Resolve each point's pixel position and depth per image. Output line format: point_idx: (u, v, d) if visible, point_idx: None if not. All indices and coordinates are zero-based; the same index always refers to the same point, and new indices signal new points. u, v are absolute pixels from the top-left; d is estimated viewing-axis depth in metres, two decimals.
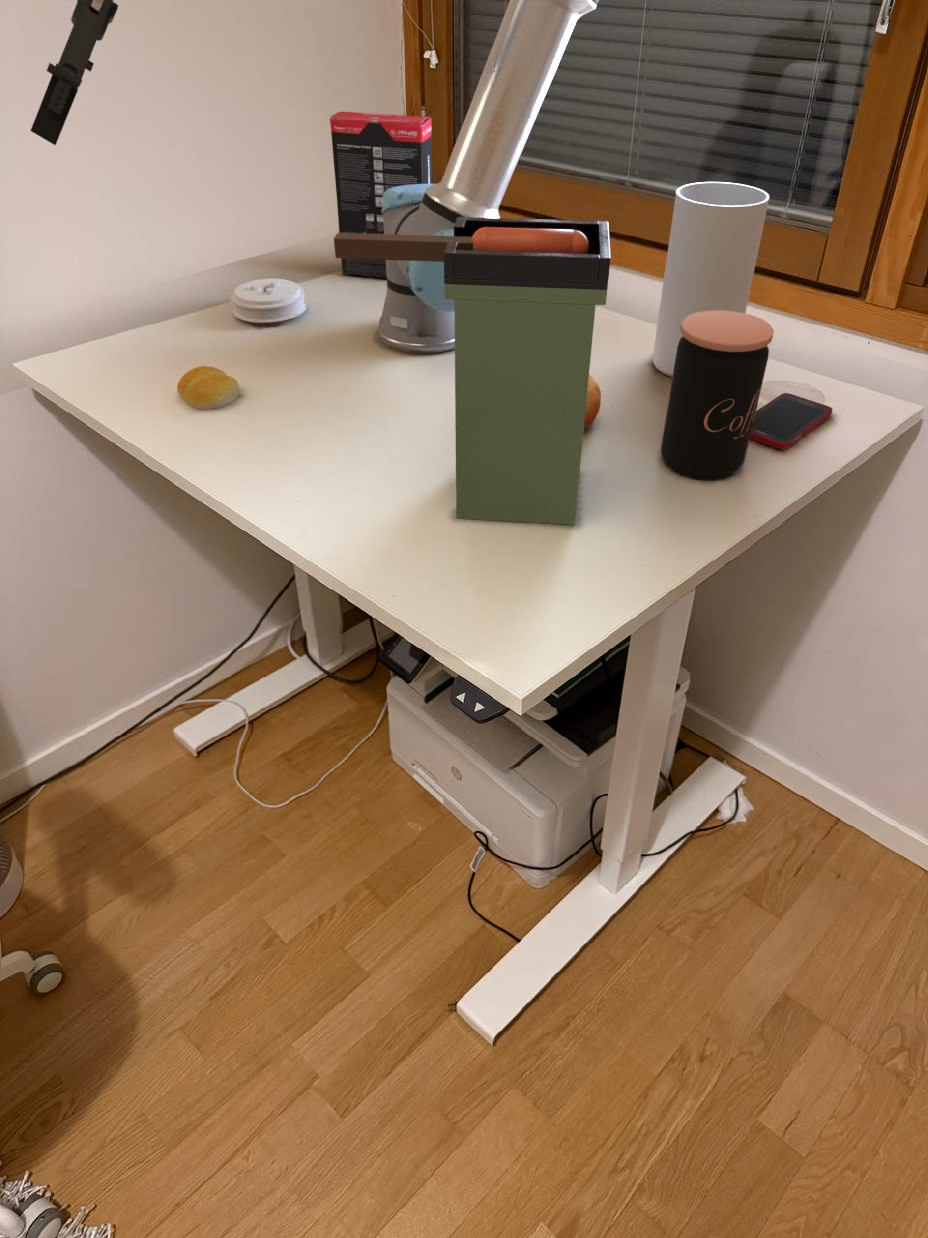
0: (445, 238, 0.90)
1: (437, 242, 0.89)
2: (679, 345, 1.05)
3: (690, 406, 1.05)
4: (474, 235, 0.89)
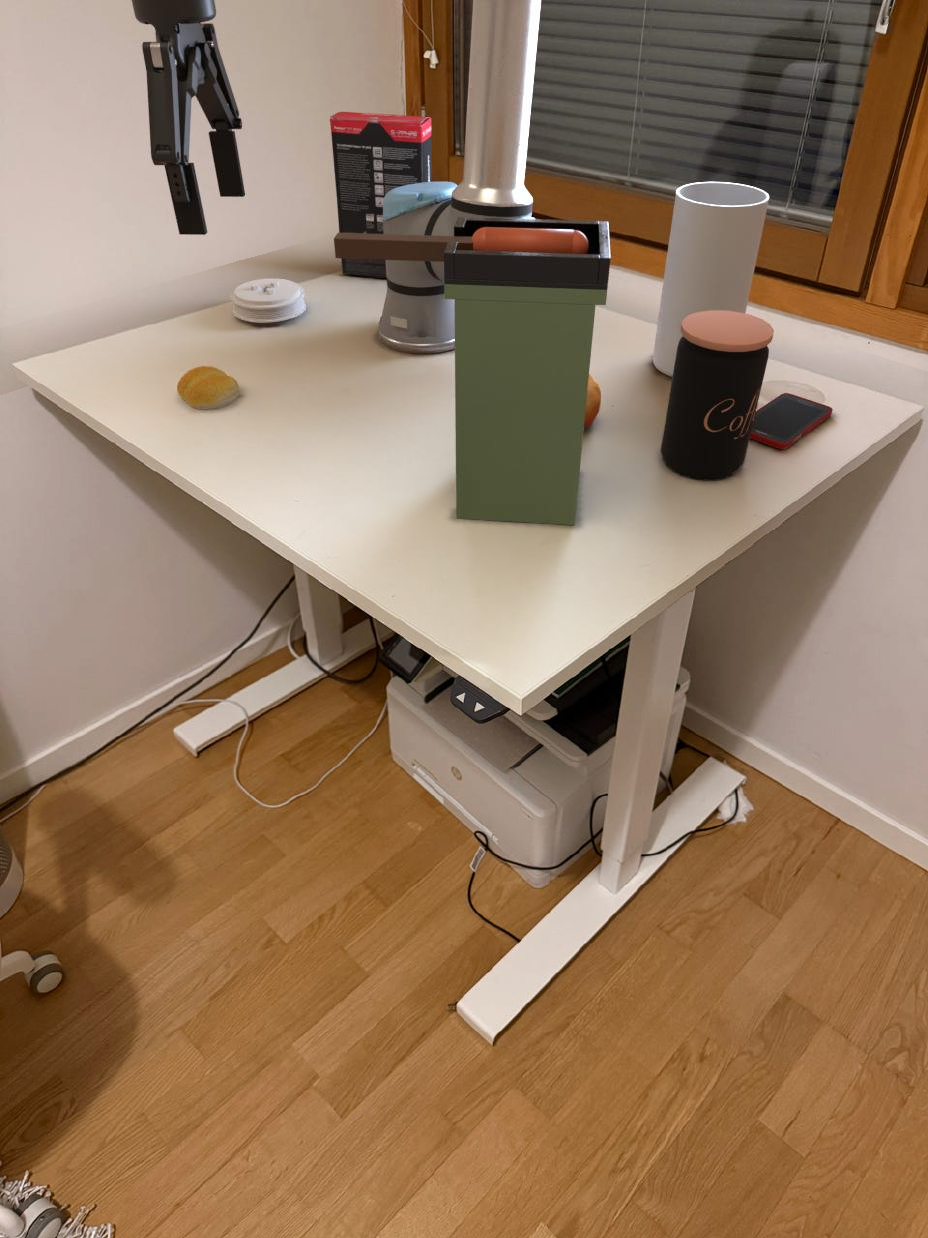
0: (445, 238, 0.90)
1: (437, 242, 0.89)
2: (679, 345, 1.05)
3: (691, 406, 1.05)
4: (474, 235, 0.89)
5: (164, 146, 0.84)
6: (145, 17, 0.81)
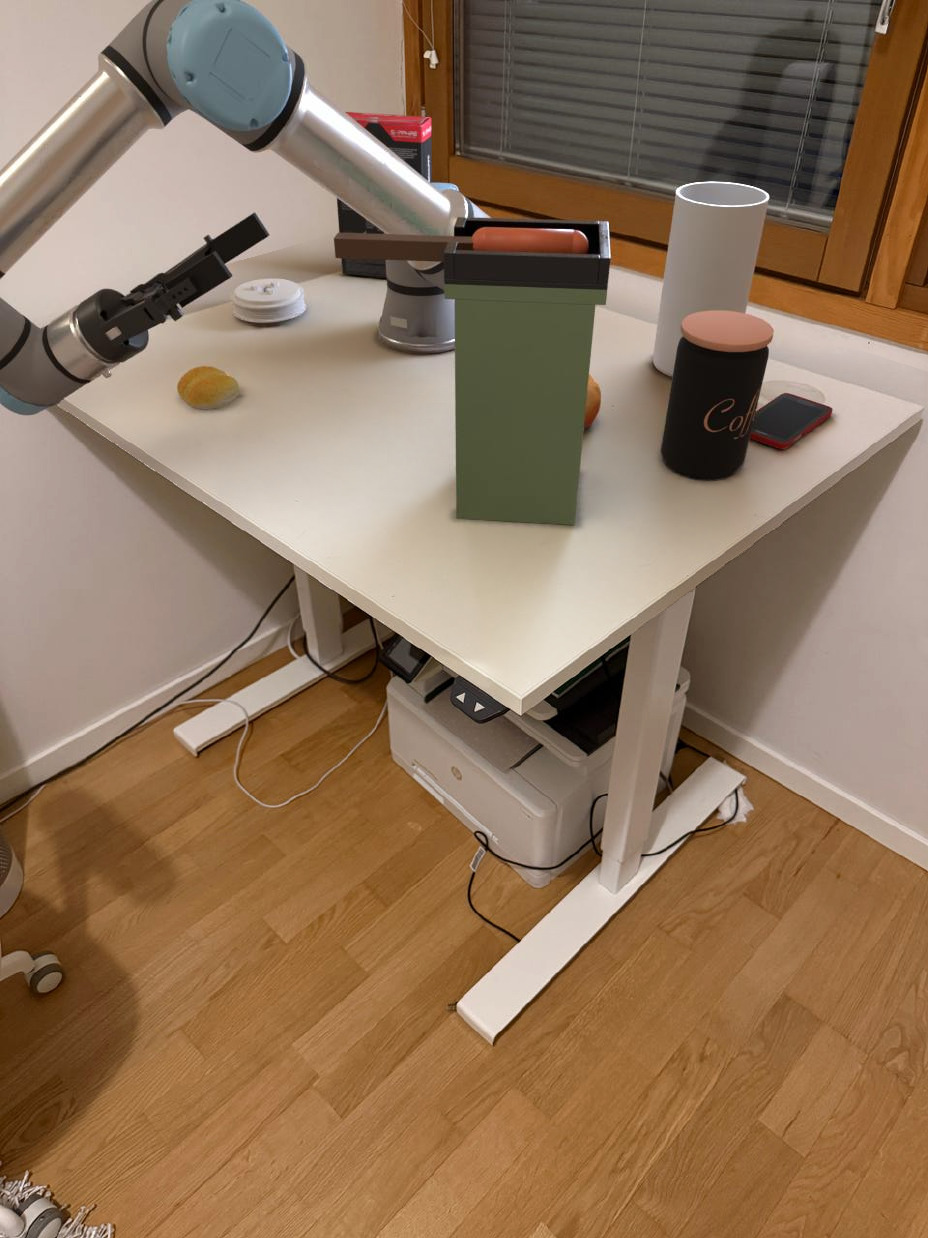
0: (445, 238, 0.90)
1: (437, 242, 0.89)
2: (679, 345, 1.05)
3: (691, 406, 1.05)
4: (474, 235, 0.89)
5: None
6: (119, 345, 0.98)
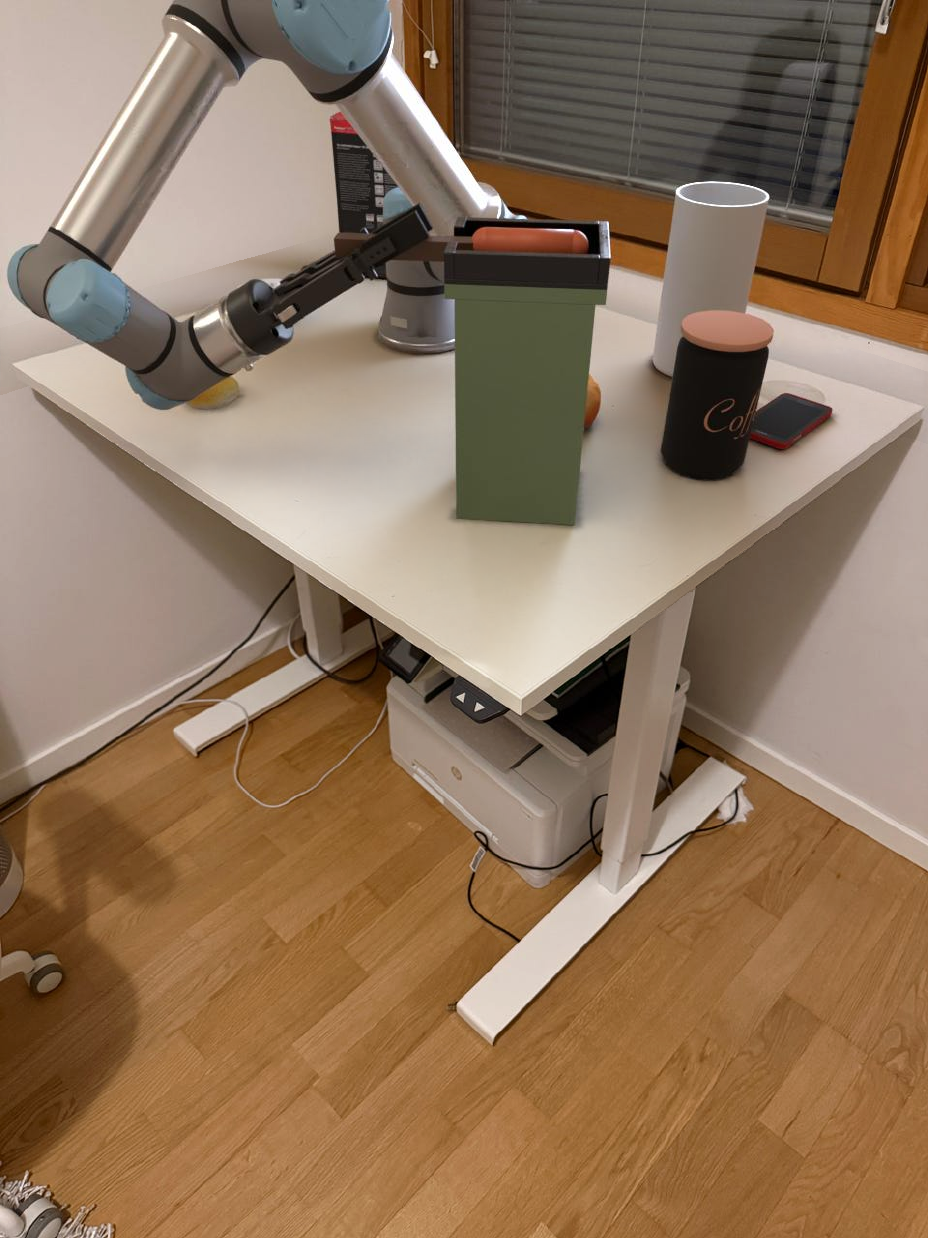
0: (445, 238, 0.90)
1: (437, 242, 0.89)
2: (679, 345, 1.05)
3: (691, 406, 1.05)
4: (474, 235, 0.89)
5: None
6: (270, 337, 0.95)
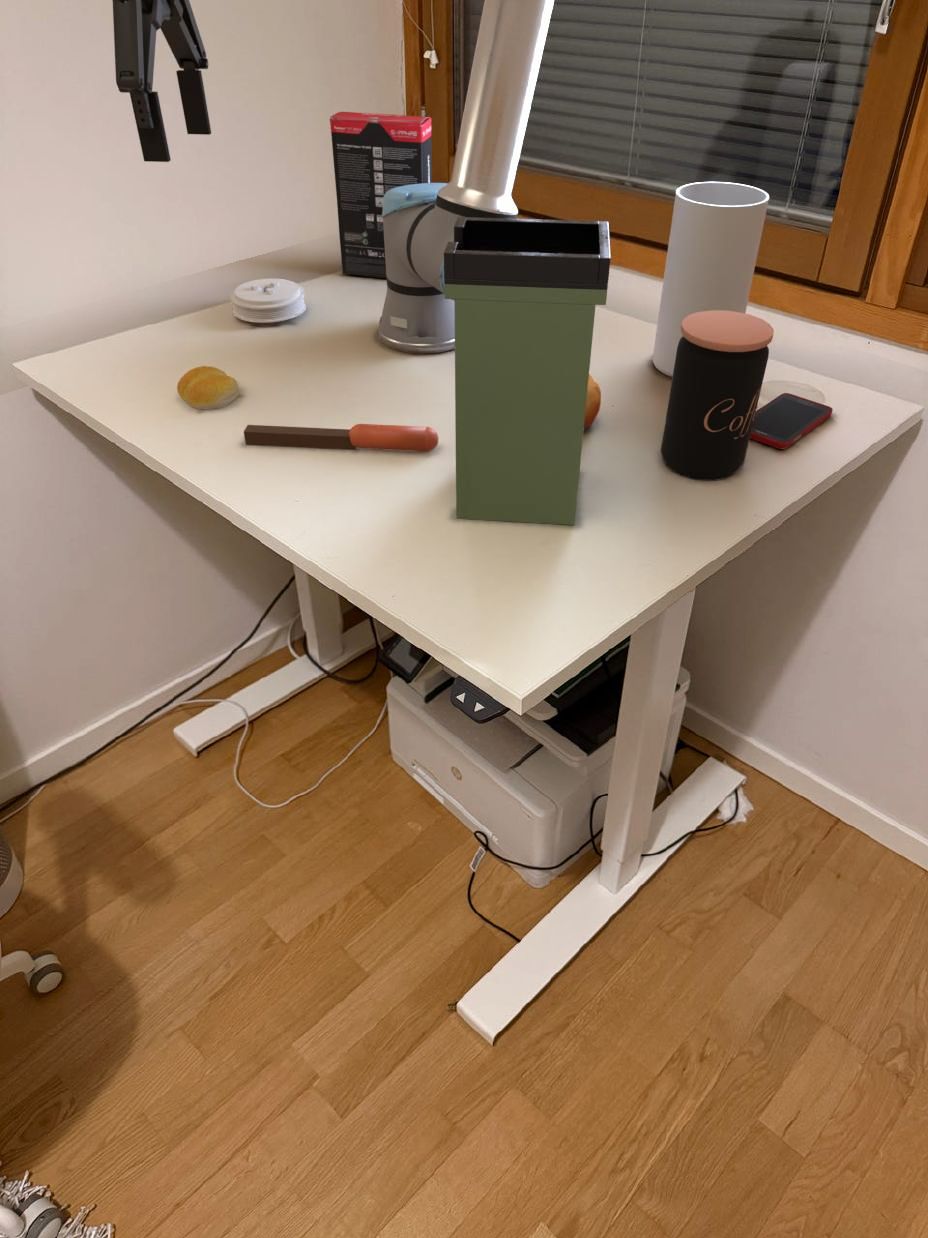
0: (329, 431, 1.17)
1: (322, 435, 1.16)
2: (679, 345, 1.05)
3: (691, 406, 1.05)
4: (350, 430, 1.16)
5: (129, 74, 0.90)
6: None
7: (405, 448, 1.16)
